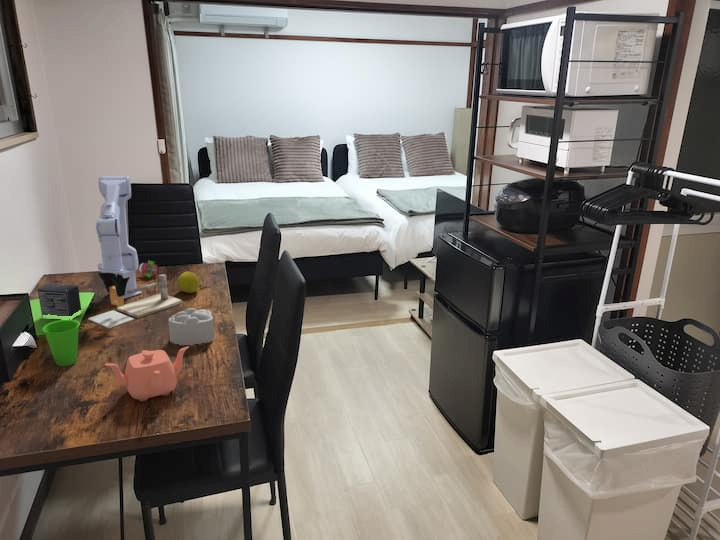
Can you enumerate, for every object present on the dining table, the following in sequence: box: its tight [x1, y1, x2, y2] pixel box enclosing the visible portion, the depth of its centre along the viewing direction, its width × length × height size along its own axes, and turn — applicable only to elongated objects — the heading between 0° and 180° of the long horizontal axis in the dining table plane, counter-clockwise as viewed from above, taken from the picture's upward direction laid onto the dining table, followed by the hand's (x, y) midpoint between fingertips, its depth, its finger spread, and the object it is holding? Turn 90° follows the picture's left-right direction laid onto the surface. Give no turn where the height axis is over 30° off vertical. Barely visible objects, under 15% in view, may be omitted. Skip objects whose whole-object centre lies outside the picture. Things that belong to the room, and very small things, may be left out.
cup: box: [41, 319, 81, 367], centre depth 144 cm, size 9×9×11 cm
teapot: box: [104, 346, 190, 402], centre depth 131 cm, size 14×14×11 cm
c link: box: [109, 286, 125, 307], centre depth 174 cm, size 5×2×6 cm, turn 57°
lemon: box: [177, 271, 200, 294], centre depth 199 cm, size 11×8×8 cm
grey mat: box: [87, 309, 135, 329], centre depth 174 cm, size 12×9×1 cm
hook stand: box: [116, 274, 183, 319], centre depth 184 cm, size 12×18×10 cm, turn 146°
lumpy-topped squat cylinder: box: [167, 307, 215, 346], centre depth 162 cm, size 10×13×9 cm
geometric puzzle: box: [138, 259, 159, 279], centre depth 215 cm, size 7×7×8 cm
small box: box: [37, 283, 82, 316], centre depth 174 cm, size 11×6×10 cm, turn 84°
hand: (116, 293), depth 173 cm, fingers closed on c link, 5 cm apart
